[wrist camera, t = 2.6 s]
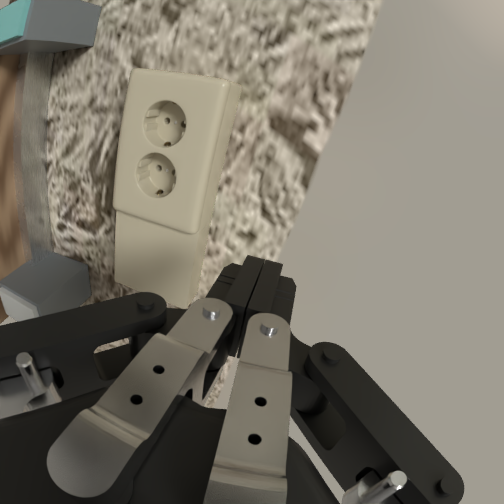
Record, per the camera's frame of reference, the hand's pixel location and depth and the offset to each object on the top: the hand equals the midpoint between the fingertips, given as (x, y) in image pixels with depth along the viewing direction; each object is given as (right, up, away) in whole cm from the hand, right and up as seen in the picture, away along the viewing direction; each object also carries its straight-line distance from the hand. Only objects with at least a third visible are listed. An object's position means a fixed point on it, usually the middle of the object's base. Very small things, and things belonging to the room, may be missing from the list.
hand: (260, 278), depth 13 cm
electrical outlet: (-6, +6, +11) cm, 15 cm away
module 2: (-22, -1, +18) cm, 28 cm away
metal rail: (-22, +11, +12) cm, 27 cm away
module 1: (-17, +22, +6) cm, 28 cm away
